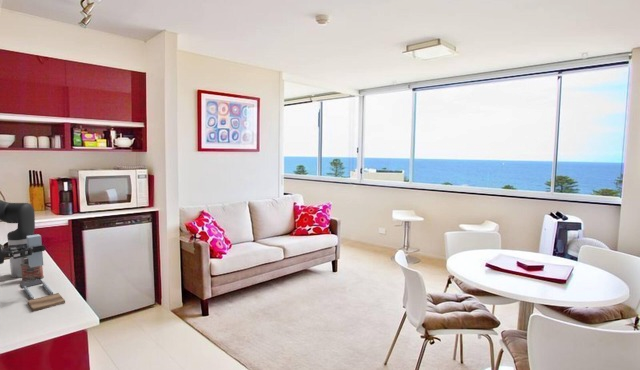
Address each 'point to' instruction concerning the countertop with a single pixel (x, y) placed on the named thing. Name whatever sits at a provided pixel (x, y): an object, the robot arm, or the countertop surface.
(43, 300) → the board
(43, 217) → the countertop surface
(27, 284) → the dark gray flat plate
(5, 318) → the countertop surface
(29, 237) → the block
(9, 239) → the robot arm
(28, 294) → the channel
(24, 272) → the lighter
